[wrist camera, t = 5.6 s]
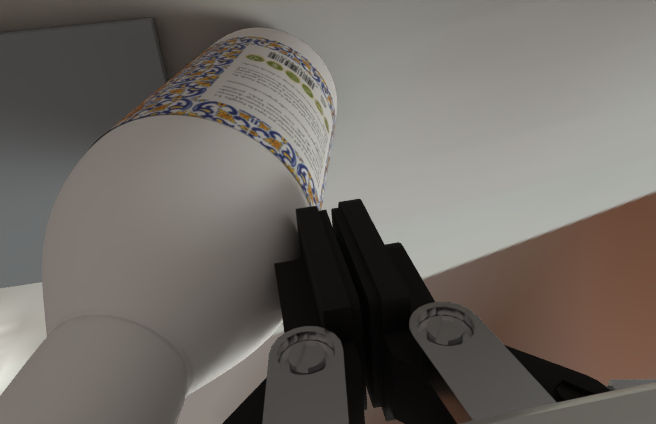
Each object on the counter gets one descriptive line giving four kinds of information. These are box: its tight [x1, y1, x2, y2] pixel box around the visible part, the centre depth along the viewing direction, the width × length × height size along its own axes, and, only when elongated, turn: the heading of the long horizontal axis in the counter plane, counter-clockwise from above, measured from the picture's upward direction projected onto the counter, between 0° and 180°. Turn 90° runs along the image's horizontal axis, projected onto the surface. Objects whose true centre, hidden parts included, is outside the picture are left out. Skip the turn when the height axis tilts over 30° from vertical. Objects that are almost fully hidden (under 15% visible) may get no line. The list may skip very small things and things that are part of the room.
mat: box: [0, 18, 168, 288], centre depth 24 cm, size 17×13×1 cm
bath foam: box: [0, 28, 337, 424], centre depth 15 cm, size 7×7×20 cm
